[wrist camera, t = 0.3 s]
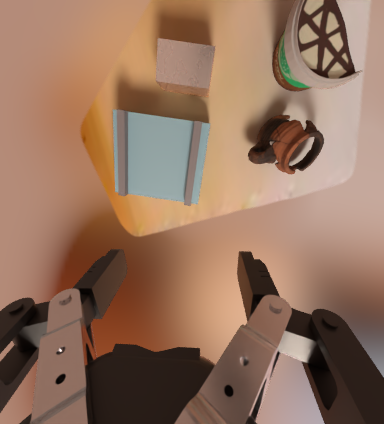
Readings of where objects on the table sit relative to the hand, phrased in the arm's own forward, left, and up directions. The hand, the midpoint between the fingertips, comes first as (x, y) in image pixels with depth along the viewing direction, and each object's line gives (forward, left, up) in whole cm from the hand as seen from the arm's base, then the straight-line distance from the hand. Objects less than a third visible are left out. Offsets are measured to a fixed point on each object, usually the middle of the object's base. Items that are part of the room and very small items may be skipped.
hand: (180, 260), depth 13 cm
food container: (-20, +12, -28) cm, 36 cm away
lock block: (-17, -4, -28) cm, 33 cm away
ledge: (-3, -7, -27) cm, 29 cm away
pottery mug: (-8, +14, -28) cm, 32 cm away
